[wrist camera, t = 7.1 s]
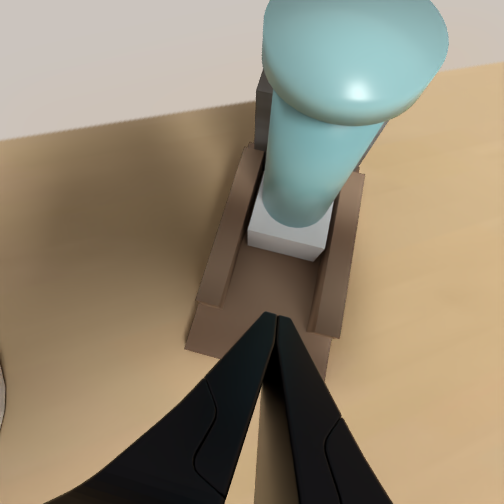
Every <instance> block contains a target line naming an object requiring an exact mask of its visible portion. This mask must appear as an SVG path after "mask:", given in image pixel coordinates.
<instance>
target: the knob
mask: <svg viewBox="0 0 504 504" xmlns="http://www.w3.org/2000/svg"><path fill="white" fill-rule="evenodd" d="M448 45H449V42H448V32H447V28H446V25H445V22H444V20H443V18H442V16H441V14H440V13H439V11H438V10H437V8H436V7H435V6H434V5H433V3H432V2H431V1H430V0H270V1H269V3H268V5H267V8H266V11H265V15H264V25H263V44H262V64H263V69H264V72H265V75H266V77H267V80H268V82H269V83H270V85H271V86H272V88H273V96H272V105H271V115H270V125H269V134H268V144H267V154H266V163H265V171H264V174H263V178H262V181H261V185H260V188H259V192H258V195H257V199H256V202H255V206H254V209H253V213H252V216H251V220H250V223H249V227H248V245H249V246H253V247H257V248H261V249H264V250H268V251H272V252H276V253H280V254H284V255H288V256H292V257H296V258H300V259H304V260H308V261H312V262H313V261H314V260H315V259H316V258H317V257H318V256H319V255H320V254H321V253H322V251H323V250H324V249H325V245H326V240H327V235H328V229H329V224H330V219H331V213H332V208H333V203H334V200H335V198H336V197H337V195H338V193H339V192H340V190H341V189H342V187H343V186H344V184H345V182H346V181H347V179H348V178H349V176H350V175H351V173H352V172H353V170H354V168H355V167H356V165H357V164H358V162H359V161H360V159H361V158H362V156H363V154H364V153H365V151H366V150H367V148H368V147H369V145H370V144H371V142H372V140H373V139H374V137H375V136H376V134H377V133H378V131H379V129H380V128H381V126H382V125H383V123H384V122H385V121H388V120H390V119H392V118H395V117H397V116H399V115H400V114H402V113H403V112H405V111H406V110H407V109H409V108H410V107H411V106H412V105H413V104H414V103H415V102H416V101H417V99H418V98H419V97H420V95H421V94H422V93H423V91H424V90H425V89H426V87H427V86H428V84H429V83H430V82H431V80H432V79H433V77H434V76H435V75H436V73H437V72H438V71H439V69H440V67H441V66H442V64H443V62H444V60H445V58H446V55H447V51H448Z"/></svg>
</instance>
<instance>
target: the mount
mask: <svg viewBox="0 0 504 504" xmlns="http://www.w3.org/2000/svg"><path fill="white" fill-rule="evenodd" d="M272 96H273V88H272V86H271V85H270V83H269V82H268V80H267V77H266V75H265V72H264V69H263V72H262V74H261V77H260V80H259V84H258V87H257V90H256V112H255V140H254V143H252V142H249V145H248V147H244V149H243V153H242V156H241V159H240V162H239V165H238V168H237V171H236V175H235V178H234V181H233V184H232V187H231V190H230V193H229V196H228V200H227V203H226V206H225V209H224V212H223V215H222V218H221V221H220V225H219V228H218V231H217V234H216V237H215V240H214V243H213V247H212V250H211V253H210V256H209V259H208V262H207V265H206V268H205V272H204V275H203V278H202V281H201V284H200V287H199V290H198V293H197V297H196V301H198V302H199V304H198V307H197V310H196V313H195V317H194V320H193V323H192V326H191V329H190V332H189V336H188V339H187V342H186V345H185V348H184V349H186V350H189V351H193V352H196V353H200V354H204V355H207V356H211V357H214V358H218V359H221V358H222V357H223V356H224V355H225V354H226V353H227V352H228V350H229V349H230V348H231V347H232V346H233V345H234V344H235V343H236V342H237V341H238V340H239V338H240V337H241V336H242V335H243V334H244V333H245V332H246V331H247V330H248V329H249V328H250V326H251V325H252V324H253V323H254V322H255V321H256V320H257V319H258V318H259V317H260V316H261V314H262V313H263V312H265V311H267V312H271V313H275V314H276V315H277V316H278V315H282V316H286V317H289V318H291V319H292V321H293V323H294V325H295V327H296V329H297V331H298V333H299V334H300V336H301V338H302V340H303V342H304V344H305V346H306V348H307V350H308V352H309V354H310V356H311V357H312V359H313V361H314V363H315V365H316V367H317V369H318V371H319V373H320V375H321V377H322V379H323V380H324V382H325V376H326V369H327V363H328V357H329V351H330V345H331V339H332V338H338V339H340V334H341V327H342V321H343V314H344V308H345V302H346V295H347V289H348V282H349V276H350V269H351V263H352V256H353V250H354V243H355V237H356V231H357V224H358V218H359V211H360V205H361V198H362V192H363V185H364V179H365V174H361V173H359V167H358V166H359V165H360V163H361V162H362V160H363V159H364V157H365V156H366V154H367V153H368V151H369V150H370V148H371V147H372V145H373V144H374V142H375V141H376V139H377V138H378V136H379V135H380V133H381V132H382V130H383V128H384V127H385V125H386V124H387V122H388V121H389V120H388V121H385V122H384V123H383V125H382V126H381V128H380V129H379V131H378V133H377V134H376V136H375V137H374V139H373V140H372V142H371V144H370V145H369V147H368V148H367V150H366V151H365V153H364V154H363V156H362V158H361V159H360V161H359V162H358V164H357V165H356V167H355V168H354V170H353V172H352V173H351V175H350V176H349V178H348V179H347V181H346V182H345V184H344V186H343V187H342V189H341V190H340V192H339V193H338V195H337V197H336V198H335V200H334V203H333V208H332V213H331V219H330V224H329V229H328V235H327V240H326V245H325V249H324V250H323V251H322V253H321V254H320V255H319V256H318V257H317V258H316V259H315V260H314V261H313V262H312V261H308V260H304V259H300V258H296V257H292V256H288V255H284V254H280V253H276V252H272V251H268V250H264V249H261V248H257V247H253V246H249V245H248V227H249V223H250V220H251V216H252V213H253V209H254V206H255V202H256V199H257V195H258V192H259V188H260V185H261V181H262V178H263V174H264V171H265V163H266V154H267V144H268V134H269V125H270V115H271V105H272Z"/></svg>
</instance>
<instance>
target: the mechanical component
mask: <svg viewBox="0 0 504 504" xmlns="http://www.w3.org/2000/svg"><path fill="white" fill-rule="evenodd" d="M4 409H5V384H4V380H3V375H2V371H1V366H0V427H1V423H2V419H3V415H4Z"/></svg>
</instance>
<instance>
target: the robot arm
mask: <svg viewBox="0 0 504 504" xmlns="http://www.w3.org/2000/svg"><path fill="white" fill-rule="evenodd" d="M261 387H262V389H261ZM260 390H261V402H260V417H259V433H258V448H257V464H256V479H255V495H254V504H393V503H392V501H391V499H390V498H389V496H388V495H387V493H386V492H385V490H384V488H383V487H382V485H381V484H380V482H379V480H378V479H377V477H376V475H375V474H374V472H373V470H372V469H371V467H370V465H369V464H368V462H367V461H366V459H365V457H364V456H363V454H362V452H361V450H360V448H359V446H358V445H357V443H356V441H355V439H354V437H353V436H352V434H351V432H350V430H349V428H348V426H347V424H346V422H345V420H344V419H343V418H341V416H342V415H341V413H340V411H339V409H338V407H337V405H336V403H335V401H334V400H333V398H332V396H331V394H330V392H329V390H328V388H327V386H326V384H325V382H324V380H323V379H322V377H321V375H320V373H319V371H318V369H317V367H316V365H315V363H314V361H313V359H312V357H311V356H310V354H309V352H308V350H307V348H306V346H305V344H304V342H303V340H302V338H301V336H300V334H299V333H298V331H297V329H296V327H295V325H294V323H293V321H292V319H291V318H289V317H286V316H282V315H278V316H277V315H276V314H275V313H271V312H267V311H265V312H263V313H262V314H261V316H260V317H259V318H258V319H257V320H256V321H255V322H254V323H253V324H252V325H251V326H250V328H249V329H248V330H247V331H246V332H245V333H244V334H243V335H242V336H241V337H240V338H239V340H238V341H237V342H236V343H235V344H234V345H233V346H232V347H231V348H230V349H229V350H228V352H227V353H226V354H225V355H224V356H223V357H222V358H221V359H220V360H219V361H218V362H217V364H216V365H215V366H214V367H213V368H212V369H211V370H210V371H209V372H208V373H207V374H206V376H205V377H204V378H203V379H202V380H201V381H200V382H199V383H198V384H197V385H196V386H195V387H194V388H193V389H192V390H191V391H190V392H189V393H188V394H187V396H186V397H185V398H184V399H183V400H182V401H181V402H180V403H179V404H178V405H176V406H175V407H174V408H173V409H172V410H171V411H170V412H169V413H167V414H166V415H165V416H164V417H163V418H162V419H161V420H160V421H158V422H157V423H156V424H155V425H154V426H153V427H151V428H150V429H149V430H148V431H147V432H146V433H144V434H143V435H142V436H141V437H140V438H138V439H137V440H136V441H135V442H134V443H133V444H131V445H130V446H129V447H128V448H127V449H125V450H124V451H123V452H122V453H121V454H120V455H118V456H117V457H116V458H115V459H114V460H112V461H111V462H110V463H109V464H108V465H106V466H105V467H104V468H103V469H102V470H100V471H99V472H98V473H96V474H95V475H94V476H92V477H91V478H90V479H88V480H87V481H85V482H84V483H82V484H81V485H79V486H77V487H75V488H74V489H72V490H70V491H68V492H66V493H64V494H63V495H60V496H58V497H56V498H54V499H52V500H50V501H48V502H46V503H44V504H224V503H225V500H226V497H227V494H228V491H229V488H230V484H231V481H232V478H233V475H234V472H235V469H236V466H237V462H238V459H239V456H240V453H241V450H242V447H243V443H244V440H245V437H246V434H247V431H248V428H249V424H250V421H251V418H252V415H253V412H254V409H255V405H256V402H257V399H258V396H259V393H260Z"/></svg>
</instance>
